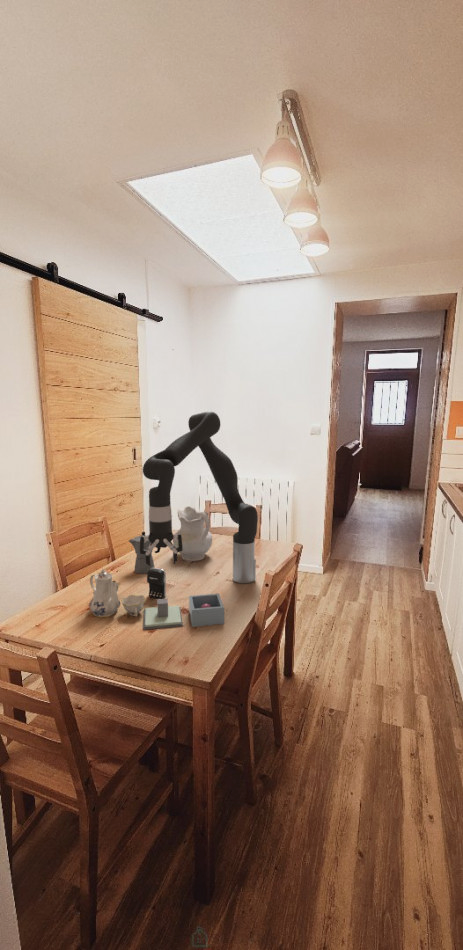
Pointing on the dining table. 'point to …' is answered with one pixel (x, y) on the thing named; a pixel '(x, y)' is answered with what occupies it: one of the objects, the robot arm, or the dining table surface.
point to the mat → (162, 626)
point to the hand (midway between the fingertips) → (161, 564)
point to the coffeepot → (142, 555)
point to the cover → (162, 614)
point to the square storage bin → (206, 610)
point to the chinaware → (111, 597)
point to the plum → (205, 606)
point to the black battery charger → (157, 583)
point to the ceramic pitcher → (194, 534)
